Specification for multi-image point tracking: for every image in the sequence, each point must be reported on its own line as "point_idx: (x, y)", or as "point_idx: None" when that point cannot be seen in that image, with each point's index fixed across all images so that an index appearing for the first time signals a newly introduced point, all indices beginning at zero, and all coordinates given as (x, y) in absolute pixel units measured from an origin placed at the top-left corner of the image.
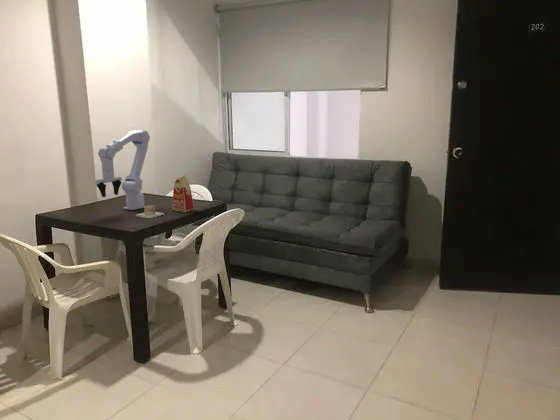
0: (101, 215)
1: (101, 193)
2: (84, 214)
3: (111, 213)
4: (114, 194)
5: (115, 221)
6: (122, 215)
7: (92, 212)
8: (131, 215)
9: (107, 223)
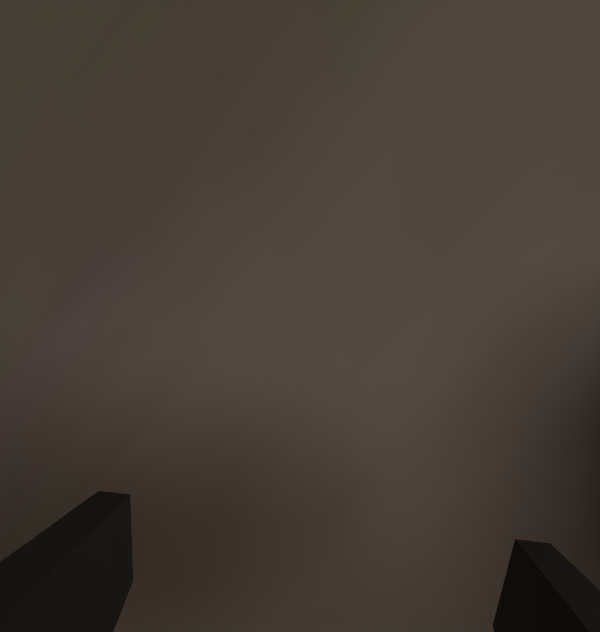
0: (201, 305)
1: (25, 566)
2: (98, 18)
3: (354, 329)
4: (516, 541)
5: None
6: (338, 520)
7: (258, 4)
8: (388, 597)
9: None
